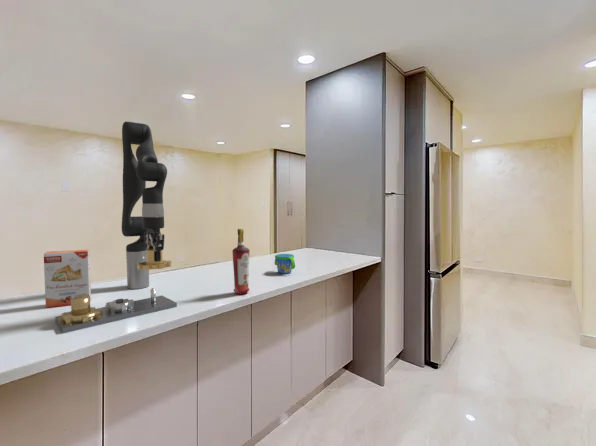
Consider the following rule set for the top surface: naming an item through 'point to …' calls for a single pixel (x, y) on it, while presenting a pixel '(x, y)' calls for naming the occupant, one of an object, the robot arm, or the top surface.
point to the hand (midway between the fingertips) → (154, 260)
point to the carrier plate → (119, 316)
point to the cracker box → (66, 276)
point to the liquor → (241, 265)
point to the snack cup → (284, 263)
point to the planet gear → (153, 262)
